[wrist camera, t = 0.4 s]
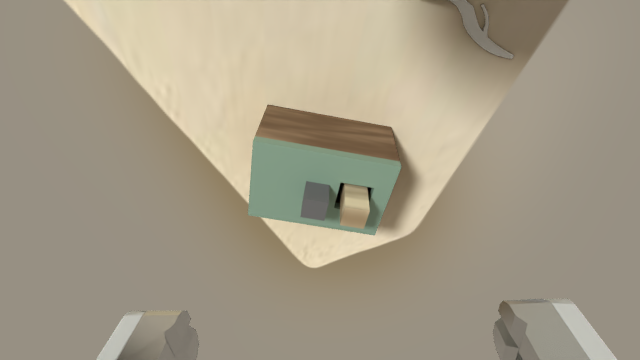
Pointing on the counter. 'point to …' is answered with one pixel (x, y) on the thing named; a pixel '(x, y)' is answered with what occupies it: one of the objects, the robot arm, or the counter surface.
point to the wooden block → (353, 205)
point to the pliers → (475, 30)
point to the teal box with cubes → (315, 183)
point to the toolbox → (328, 133)
